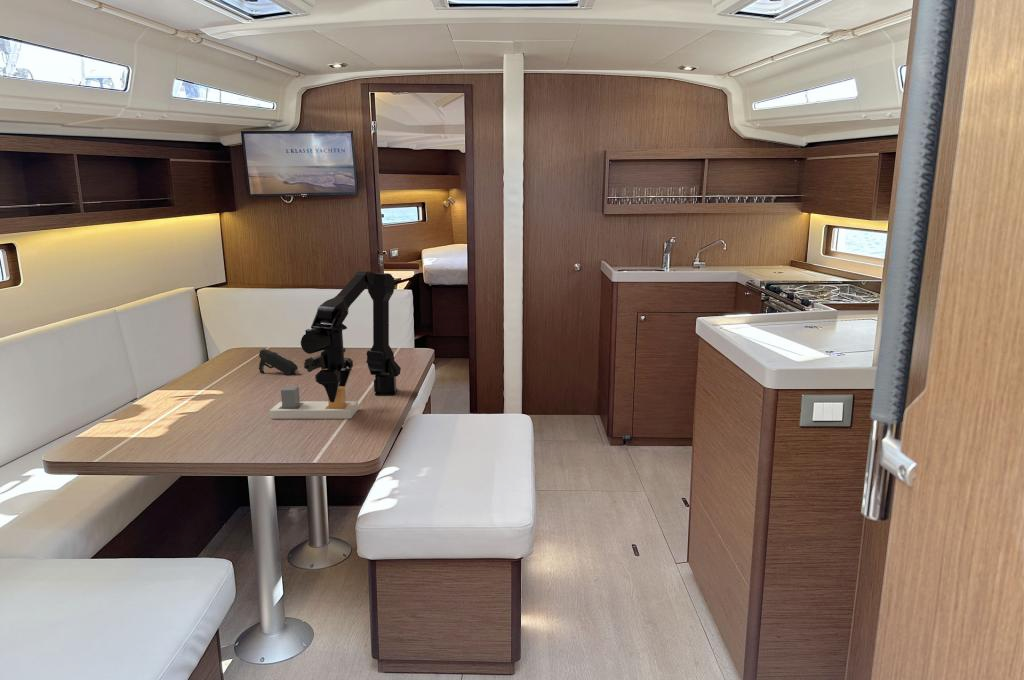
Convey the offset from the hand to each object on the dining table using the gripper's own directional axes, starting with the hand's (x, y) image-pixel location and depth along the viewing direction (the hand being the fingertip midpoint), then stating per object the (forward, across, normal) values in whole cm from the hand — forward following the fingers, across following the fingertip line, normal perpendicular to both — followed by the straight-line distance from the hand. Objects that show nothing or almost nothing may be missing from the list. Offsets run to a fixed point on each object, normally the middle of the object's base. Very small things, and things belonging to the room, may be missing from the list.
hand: (336, 397), depth 206 cm
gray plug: (+5, 0, -14) cm, 15 cm away
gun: (+6, -47, -35) cm, 59 cm away
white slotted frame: (+5, 0, -7) cm, 9 cm away
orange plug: (+5, 0, 0) cm, 5 cm away
